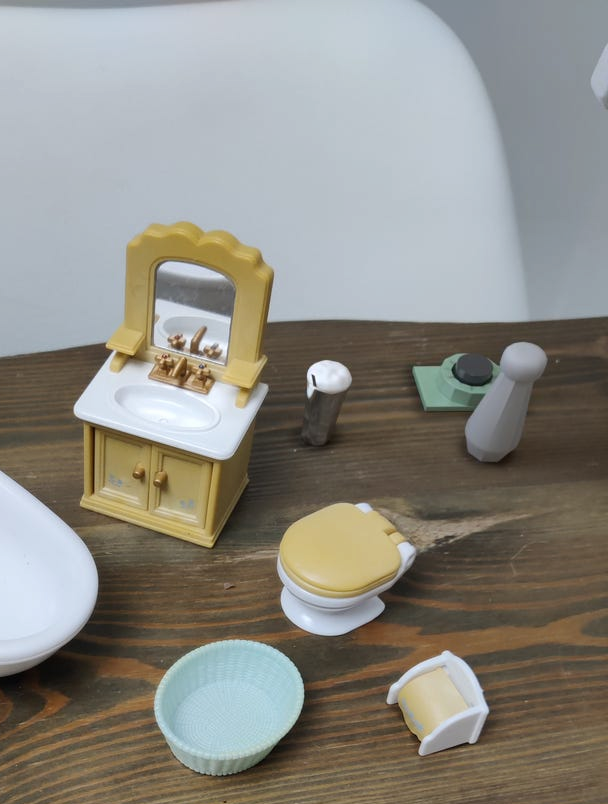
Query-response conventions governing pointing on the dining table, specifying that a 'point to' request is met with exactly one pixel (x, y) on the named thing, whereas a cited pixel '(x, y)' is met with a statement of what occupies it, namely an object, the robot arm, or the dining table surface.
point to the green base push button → (449, 387)
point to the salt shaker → (505, 404)
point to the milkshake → (324, 400)
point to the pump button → (473, 369)
